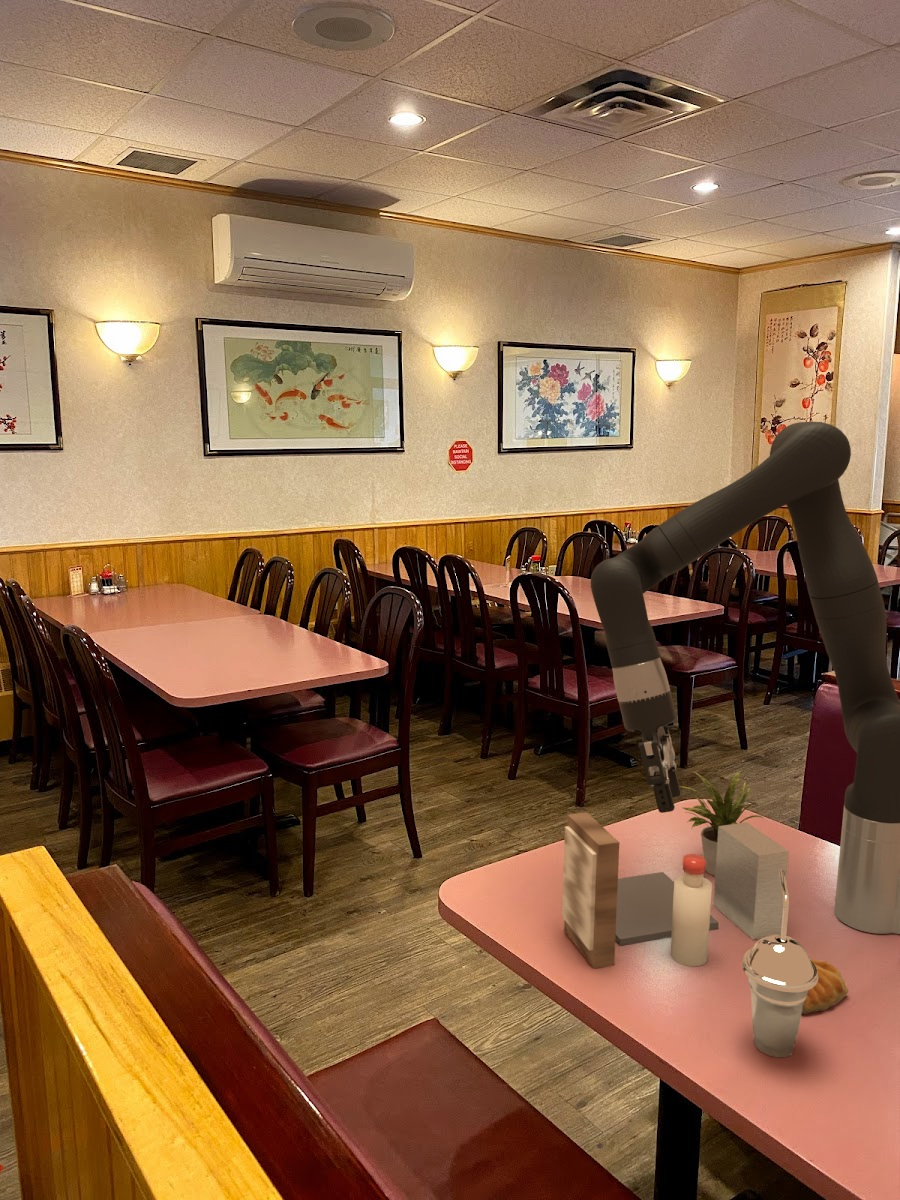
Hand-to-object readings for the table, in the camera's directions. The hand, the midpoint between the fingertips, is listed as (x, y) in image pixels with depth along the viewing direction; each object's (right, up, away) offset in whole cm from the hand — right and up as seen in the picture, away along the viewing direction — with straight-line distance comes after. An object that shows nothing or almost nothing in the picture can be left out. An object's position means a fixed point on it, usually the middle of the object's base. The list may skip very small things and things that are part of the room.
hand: (670, 803), depth 131 cm
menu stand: (-12, -20, -2) cm, 23 cm away
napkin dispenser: (+13, -19, +6) cm, 23 cm away
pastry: (+15, -23, -13) cm, 30 cm away
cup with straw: (+7, -24, -22) cm, 33 cm away
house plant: (+13, -16, +22) cm, 30 cm away
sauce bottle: (+2, -20, -4) cm, 21 cm away
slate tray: (-2, -18, +8) cm, 20 cm away
